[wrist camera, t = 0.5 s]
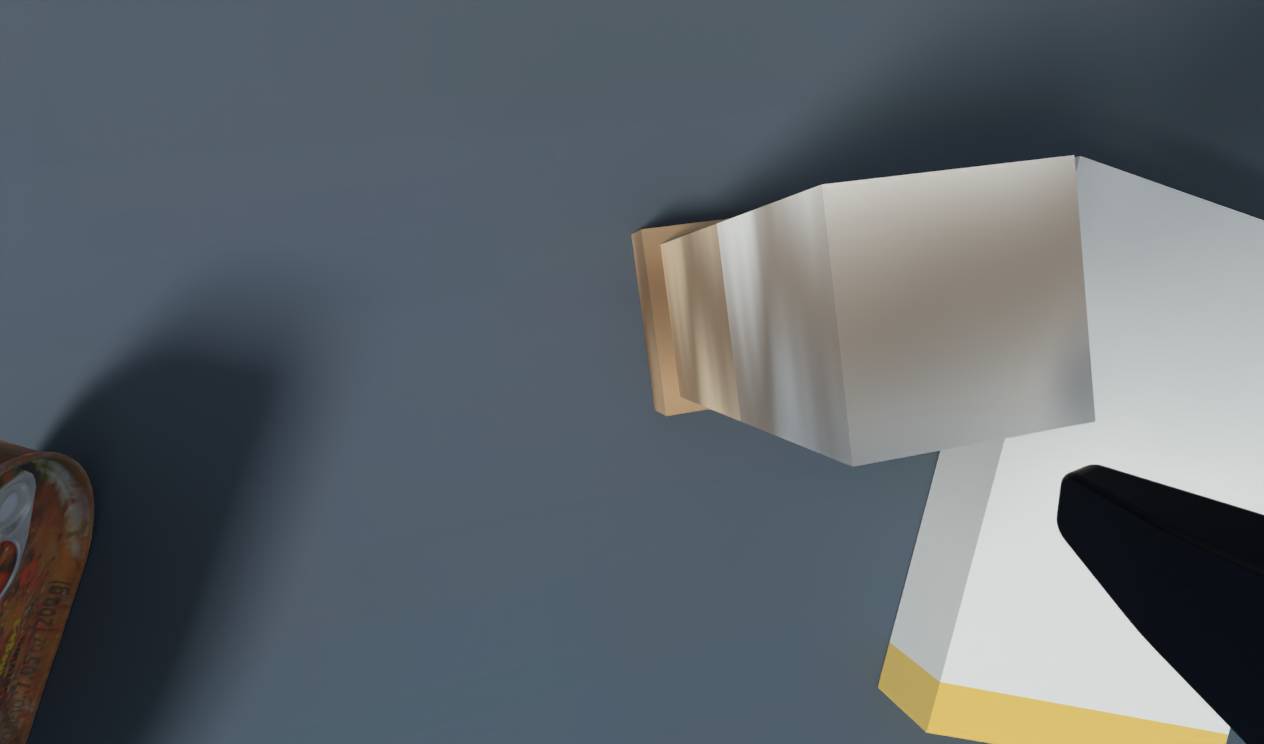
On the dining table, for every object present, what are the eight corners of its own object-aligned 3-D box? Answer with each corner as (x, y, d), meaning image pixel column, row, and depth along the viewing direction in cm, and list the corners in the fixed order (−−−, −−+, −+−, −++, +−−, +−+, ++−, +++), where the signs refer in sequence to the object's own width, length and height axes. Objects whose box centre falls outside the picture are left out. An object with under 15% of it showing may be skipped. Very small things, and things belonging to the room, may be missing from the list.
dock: (1141, 734, 29) (1215, 780, 26) (877, 687, 27) (926, 732, 24) (1270, 260, 29) (1360, 254, 26) (1013, 173, 27) (1080, 155, 24)
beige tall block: (818, 383, 26) (1122, 444, 14) (655, 410, 25) (827, 502, 13) (798, 213, 25) (1098, 121, 13) (631, 234, 24) (787, 155, 12)
